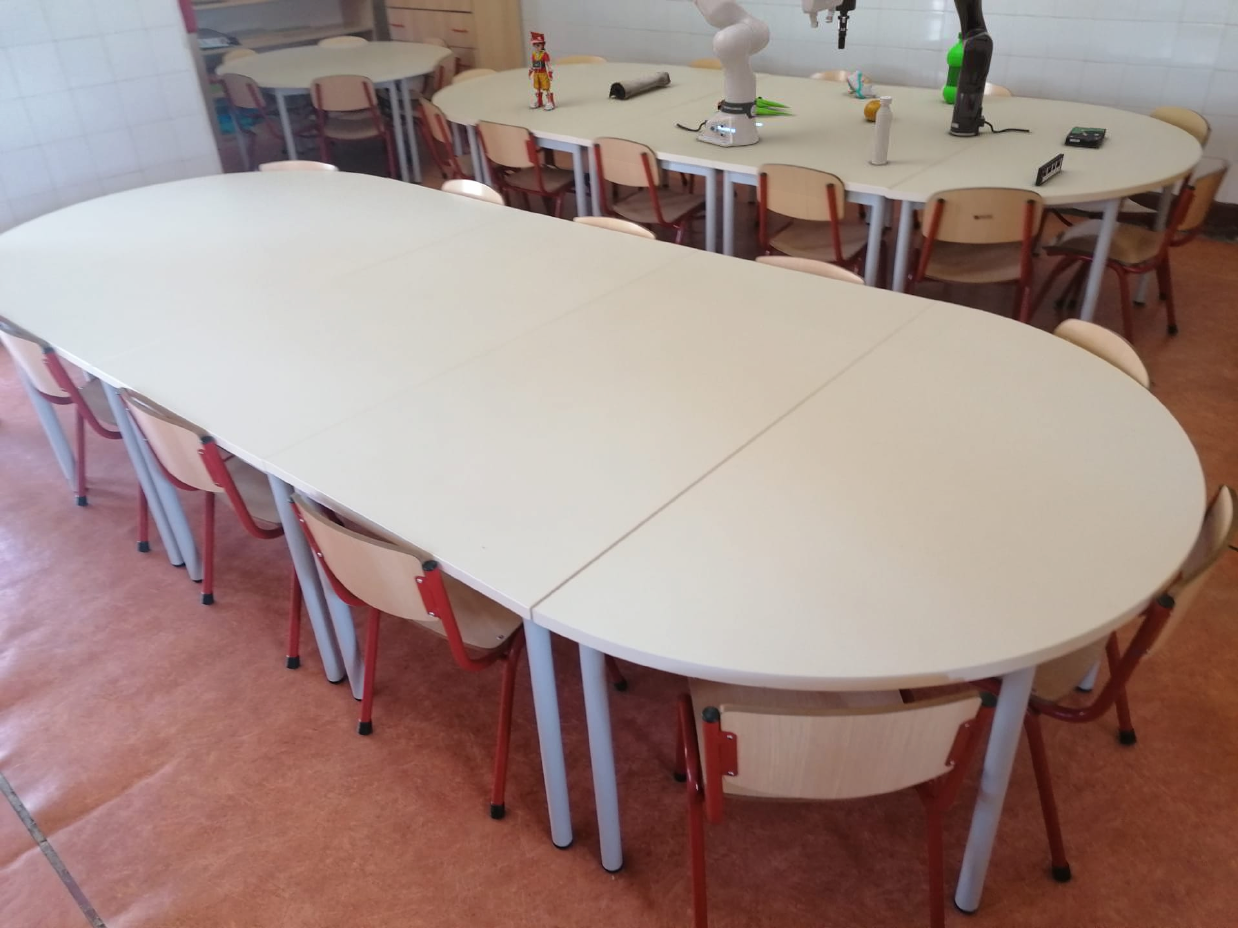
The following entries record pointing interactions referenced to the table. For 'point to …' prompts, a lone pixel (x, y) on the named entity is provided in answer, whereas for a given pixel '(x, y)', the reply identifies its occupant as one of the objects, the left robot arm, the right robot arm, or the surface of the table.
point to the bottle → (881, 135)
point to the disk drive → (1085, 136)
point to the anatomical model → (860, 85)
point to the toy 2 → (765, 103)
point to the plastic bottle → (953, 70)
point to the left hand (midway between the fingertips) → (821, 25)
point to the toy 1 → (541, 71)
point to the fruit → (872, 109)
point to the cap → (885, 100)
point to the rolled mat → (638, 84)
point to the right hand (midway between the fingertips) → (841, 46)
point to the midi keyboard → (1049, 169)
